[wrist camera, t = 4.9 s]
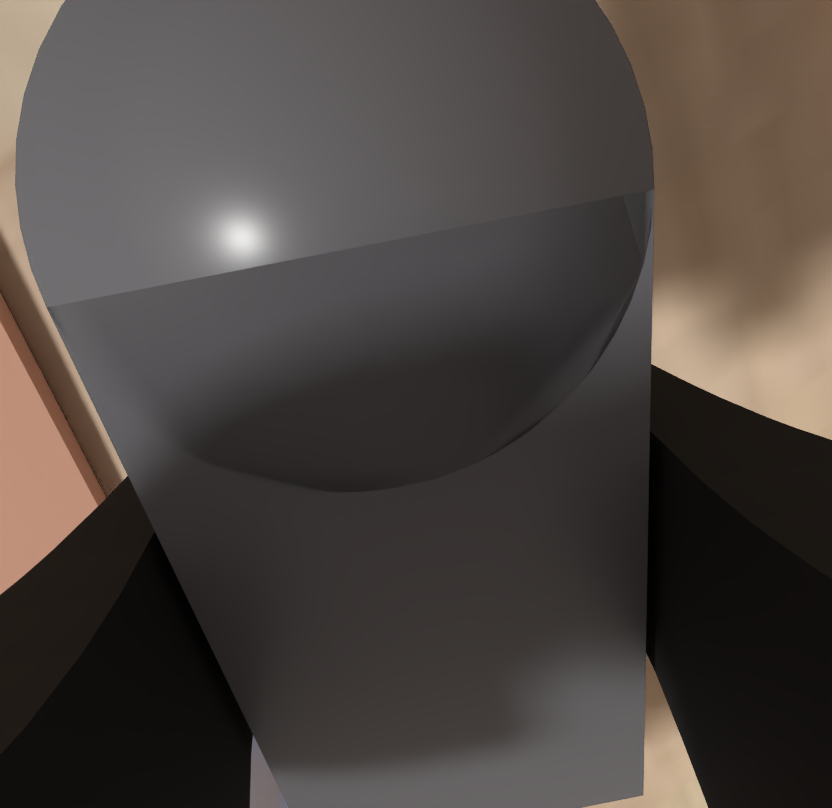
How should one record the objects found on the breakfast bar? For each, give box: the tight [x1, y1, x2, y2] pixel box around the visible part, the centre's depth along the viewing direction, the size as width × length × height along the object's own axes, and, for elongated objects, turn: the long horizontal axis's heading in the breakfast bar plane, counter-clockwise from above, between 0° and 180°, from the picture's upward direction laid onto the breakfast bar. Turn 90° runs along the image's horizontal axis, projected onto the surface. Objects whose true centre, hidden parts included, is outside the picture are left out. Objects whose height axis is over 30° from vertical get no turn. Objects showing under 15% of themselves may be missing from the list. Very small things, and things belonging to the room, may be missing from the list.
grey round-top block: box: [15, 0, 654, 808], centre depth 9 cm, size 12×4×5 cm, turn 9°
